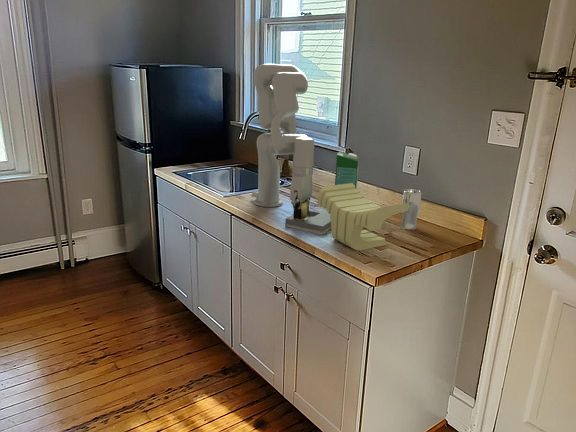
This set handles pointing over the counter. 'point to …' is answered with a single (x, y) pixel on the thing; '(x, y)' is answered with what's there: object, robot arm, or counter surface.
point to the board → (311, 222)
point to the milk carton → (346, 169)
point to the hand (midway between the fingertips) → (300, 216)
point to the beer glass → (411, 208)
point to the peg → (303, 210)
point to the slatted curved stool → (355, 215)
